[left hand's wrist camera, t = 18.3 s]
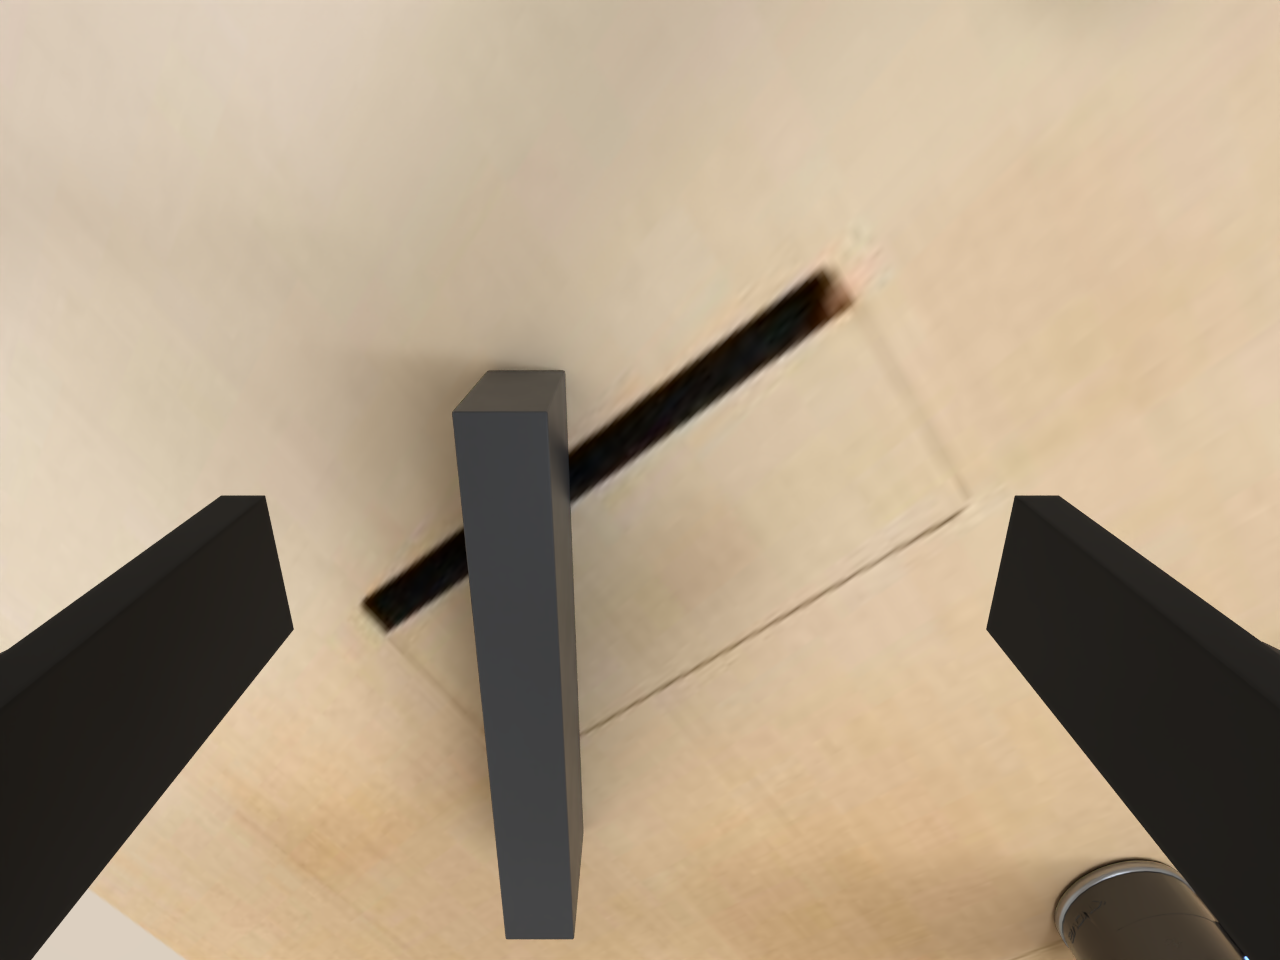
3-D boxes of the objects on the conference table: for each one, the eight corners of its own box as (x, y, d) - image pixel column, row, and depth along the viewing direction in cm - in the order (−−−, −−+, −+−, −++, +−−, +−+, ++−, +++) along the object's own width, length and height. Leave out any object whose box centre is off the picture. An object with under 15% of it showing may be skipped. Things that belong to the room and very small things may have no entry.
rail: (487, 370, 36) (451, 411, 30) (565, 370, 36) (547, 411, 30) (524, 832, 48) (505, 939, 41) (583, 832, 48) (574, 939, 41)
